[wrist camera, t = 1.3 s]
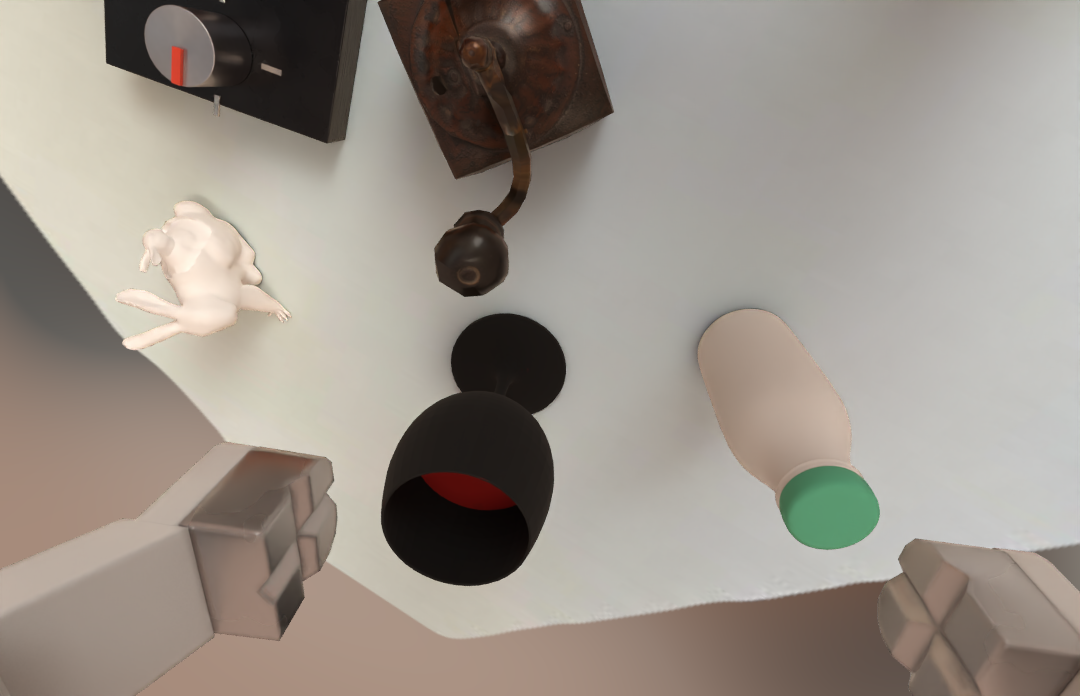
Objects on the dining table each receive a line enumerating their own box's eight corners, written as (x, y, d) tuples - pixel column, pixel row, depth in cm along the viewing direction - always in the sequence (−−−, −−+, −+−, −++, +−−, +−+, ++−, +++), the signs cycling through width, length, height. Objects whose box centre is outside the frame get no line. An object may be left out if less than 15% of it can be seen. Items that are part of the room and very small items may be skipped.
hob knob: (189, 2, 36) (140, -8, 32) (254, 26, 36) (213, 19, 32) (187, 73, 38) (140, 72, 34) (249, 95, 38) (209, 97, 34)
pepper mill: (411, 21, 38) (270, -24, 22) (560, -57, 35) (526, -175, 19) (502, 230, 43) (444, 318, 27) (636, 177, 41) (660, 240, 25)
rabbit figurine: (294, 319, 49) (228, 370, 40) (225, 339, 50) (147, 392, 42) (223, 187, 44) (131, 212, 35) (149, 213, 46) (44, 244, 37)
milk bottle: (676, 357, 47) (723, 529, 29) (739, 287, 44) (835, 432, 26) (746, 403, 48) (832, 595, 30) (812, 339, 45) (952, 510, 27)
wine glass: (441, 316, 47) (345, 459, 29) (561, 308, 46) (536, 454, 28) (461, 417, 52) (388, 595, 34) (571, 413, 50) (555, 597, 32)
